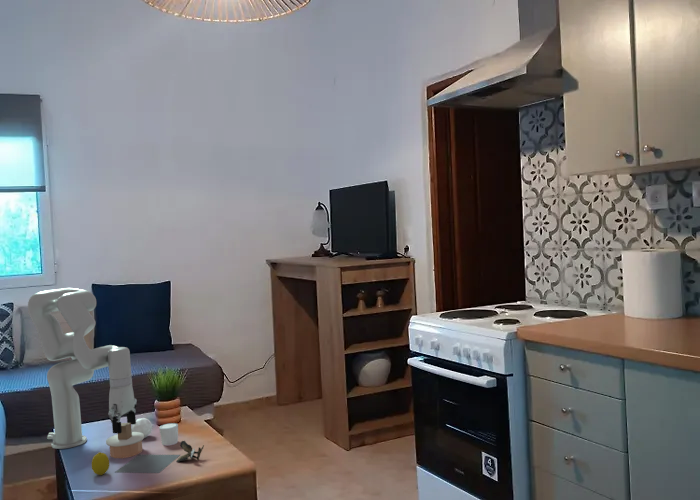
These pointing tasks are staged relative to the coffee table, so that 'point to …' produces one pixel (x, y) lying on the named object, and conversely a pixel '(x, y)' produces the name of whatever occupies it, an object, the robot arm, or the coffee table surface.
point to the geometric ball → (142, 426)
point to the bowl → (126, 450)
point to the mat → (147, 464)
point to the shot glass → (169, 434)
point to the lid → (125, 437)
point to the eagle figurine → (189, 452)
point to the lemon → (100, 463)
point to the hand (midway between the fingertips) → (124, 428)
